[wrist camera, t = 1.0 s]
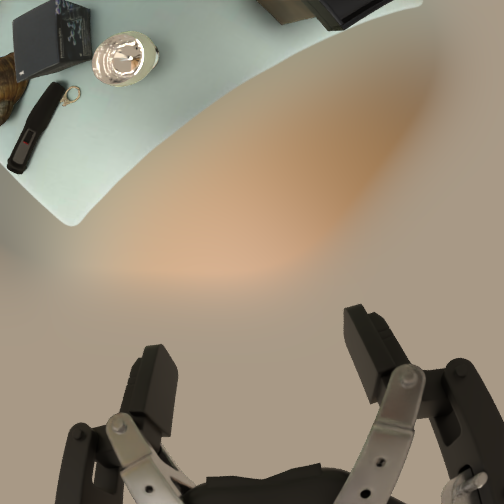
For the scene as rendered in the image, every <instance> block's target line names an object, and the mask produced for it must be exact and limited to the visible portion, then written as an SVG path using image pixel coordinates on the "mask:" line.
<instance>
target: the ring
mask: <svg viewBox="0 0 504 504" xmlns="http://www.w3.org/2000/svg"><path fill="white" fill-rule="evenodd" d="M71 88H76V89H78V93H79V95H78V97H77V98H76V99H75V100H74V101H69V100H68V98H67V97H66V94H67V92H68V90H70V89H71ZM79 97H80V90H79V88H78V87H76V86H71V87H69V88H68V89H67V90H66V92H65V95H64V96H63V98H62V99H61V100H60V103H61V102H63V101H64V104H63V105H62V106H66V105H67V104H70V103H73V102H75V101H76V100H78V99H79ZM65 100H66V102H65Z"/></svg>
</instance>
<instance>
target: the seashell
mask: <svg viewBox="0 0 504 504" xmlns="http://www.w3.org/2000/svg"><path fill="white" fill-rule="evenodd" d="M28 81H29V79H28V80H25V81H22V82H18V83H17V80H16V70H15V58H14V52H12V53H10V54H8V55H6V56H4V57H0V126H1V125H2V124H4V123H5V122H6V121H7V120H8V118H9V117H10V115H11V112H12V110H13V105H14V104H16V102H17V101H18V100H19V99H20V97H21V96H22V94H23V93H24V91H25V89H26V87H27V84H28Z"/></svg>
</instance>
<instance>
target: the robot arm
mask: <svg viewBox="0 0 504 504" xmlns="http://www.w3.org/2000/svg"><path fill="white" fill-rule="evenodd" d="M344 339H345V343H346V346H347V348H348V351H349V353H350V355H351V358H352V360H353V362H354V365H355V367H356V370H357V372H358V374H359V377H360V379H361V382H362V384H363V387H364V389H365V392H366V394H367V397H368V399H369V402H370V404H373V403H376V402H378V404H379V406H380V409H379V411H378V414H377V416H376V419H375V421H374V423H373V426H372V428H371V431H370V433H369V435H368V437H367V440H366V442H365V444H364V446H363V448H362V451H361V453H360V455H359V457H358V459H357V461H356V463H355V465H354V468H353V469H352V471H351V473H350V472H347V471H345V470H341V469H336V468H321V464H320V463H317V464H313V465H309V466H304V467H298V468H293V469H290V470H288V471H285V472H282V473H280V474H277V475H274V476H272V477H269V478H266V479H262V480H261V479H252V478H244V477H237V476H220V477H206V478H207V479H206V483H203V484H200V485H198V486H196V485H195V484H194V483H193V482H192V481H191V480H190V479H189V478H188V477H187V476H186V475H185V474H184V473H183V472H182V471H181V470H180V468H179V467H178V465H177V464H176V463H175V461H174V460H173V459H172V457H171V456H170V455H169V453H168V452H167V450H166V449H165V447H164V446H163V445H162V443H161V437H170V436H171V427H172V419H173V411H174V403H175V395H176V388H177V382H178V370H177V367H176V365H175V363H174V361H173V360H172V358H171V357H170V355H169V353H168V352H167V350H166V349H165V347H164V346H163V345H162V344H159V345H150V346H146V347H145V349H144V353H143V356H142V358H138V359H137V361H136V362H135V363H134V365H133V366H132V369H131V372H130V378H129V379H128V385H127V386H126V390H125V393H124V397H123V401H122V404H121V408H120V412H119V413H117V414H115V415H113V416H112V417H111V418H110V419H109V420H108V422H107V424H106V425H103V426H100V427H95V428H91V427H89V426H88V425H87V424H85V423H77V424H75V425H74V426H73V427H72V428H71V429H70V432H69V434H68V437H67V442H66V446H65V450H64V455H63V459H62V464H61V469H60V475H59V480H58V486H57V492H56V500H55V504H123V489H124V483H125V484H126V486H127V488H128V490H129V492H130V494H131V495H132V497H133V499H134V500H135V502H136V503H137V504H406V503H403V502H402V501H400V500H398V499H396V498H394V497H392V496H391V493H392V491H393V489H394V487H395V484H396V482H397V480H398V477H399V475H400V473H401V470H402V468H403V465H404V463H405V460H406V457H407V454H408V451H409V449H410V446H411V443H412V440H413V437H414V431H415V430H414V425H415V422H416V419H422V418H429V420H430V422H431V425H432V428H433V430H434V433H435V436H436V438H437V441H438V444H439V447H440V450H441V453H442V456H443V458H444V462H445V465H446V468H447V471H448V474H449V478H450V481H449V482H448V483H447V484H446V485H445V487H444V488H443V491H442V495H441V501H442V503H441V504H504V422H503V420H502V417H501V415H500V413H499V411H498V409H497V407H496V405H495V403H494V401H493V399H492V397H491V395H490V394H489V392H488V390H487V388H486V386H485V384H484V383H483V381H482V379H481V377H480V375H479V374H478V372H477V370H476V369H475V367H474V365H473V364H472V363H471V362H470V361H469V360H466V359H464V358H456V359H453V360H451V361H450V362H449V363H448V364H447V366H446V368H444V369H436V370H422V369H421V368H420V367H418V366H416V365H413V364H411V363H410V361H409V360H408V358H407V356H406V355H405V353H404V351H403V349H402V348H401V346H400V344H399V343H398V341H397V339H396V338H395V336H394V335H393V333H392V331H391V329H389V326H388V324H387V323H386V321H385V320H384V319H383V318H382V317H381V316H380V315H378V314H377V313H375V312H373V313H370V314H367V312H366V311H365V309H364V307H363V306H362V304H358V305H355V306H351V307H347V308H344ZM94 462H97V464H96V471H95V478H94V484H93V482H92V475H93V468H94Z"/></svg>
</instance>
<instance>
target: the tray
mask: <svg viewBox="0 0 504 504" xmlns="http://www.w3.org/2000/svg"><path fill="white" fill-rule="evenodd" d="M301 1H302V2H303V4H304V5H305V6H306V7H307V8H308V9H309V10H310V11H311V12H312V13H313V14H314V15H315V17H316V18H317V19H318V20H319V21H320V22H321V23H322V25H323V26H324V27H325V28H326V29H327V31H342V30H345V29H347V28H348V27H350V26H352V25H353V24H355V23H356V22H358V21H359V20H361V19H362V18H364V17H366V16H367V15H369V14H370V13H372V12H374V11H375V10H377V9H379V8H381V7H382V6H384V5H386V4H387V3H389V2H391V1H393V0H301Z"/></svg>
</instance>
